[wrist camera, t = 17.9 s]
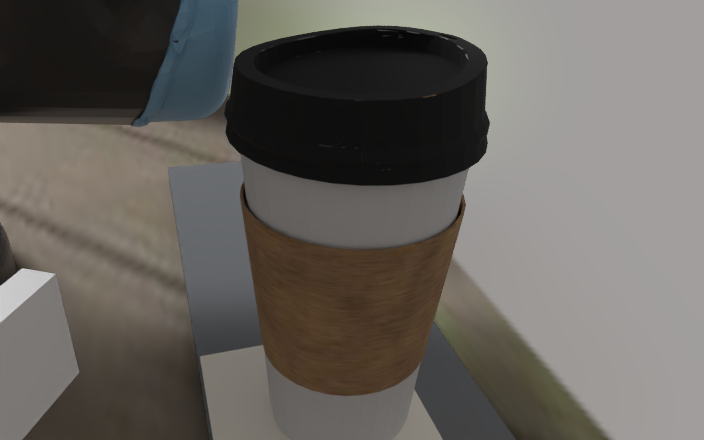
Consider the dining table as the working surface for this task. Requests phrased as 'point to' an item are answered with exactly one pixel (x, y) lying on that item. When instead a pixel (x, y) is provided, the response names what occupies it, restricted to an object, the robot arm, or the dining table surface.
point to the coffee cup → (352, 212)
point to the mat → (245, 336)
